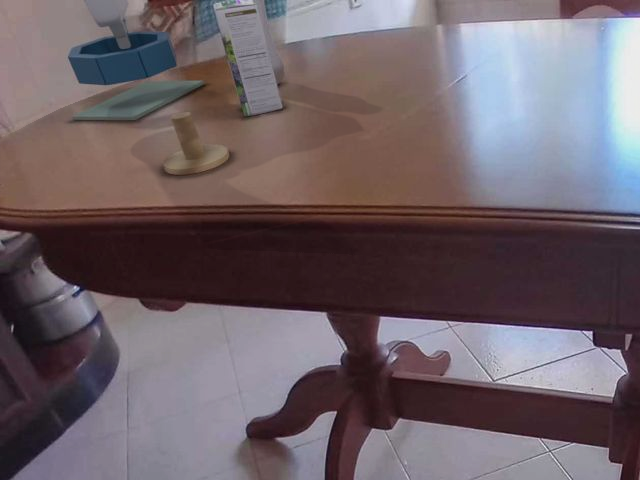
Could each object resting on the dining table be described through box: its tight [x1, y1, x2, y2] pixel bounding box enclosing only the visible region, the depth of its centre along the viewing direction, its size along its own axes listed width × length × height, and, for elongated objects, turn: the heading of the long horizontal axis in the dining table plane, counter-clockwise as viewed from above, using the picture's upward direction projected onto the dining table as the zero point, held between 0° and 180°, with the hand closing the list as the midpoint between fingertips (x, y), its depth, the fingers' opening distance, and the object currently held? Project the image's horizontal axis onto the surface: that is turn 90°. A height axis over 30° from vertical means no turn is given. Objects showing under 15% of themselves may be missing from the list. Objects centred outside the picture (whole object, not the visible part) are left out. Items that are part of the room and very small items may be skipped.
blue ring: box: [67, 30, 178, 86], centre depth 111 cm, size 15×15×4 cm
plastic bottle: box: [222, 0, 285, 85], centre depth 109 cm, size 6×7×20 cm
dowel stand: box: [162, 111, 230, 176], centre depth 87 cm, size 8×8×6 cm
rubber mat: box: [71, 80, 205, 121], centre depth 115 cm, size 18×12×1 cm, turn 163°
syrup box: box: [212, 0, 284, 117], centre depth 101 cm, size 6×6×14 cm
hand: (126, 46), depth 115 cm, fingers closed on blue ring, 2 cm apart
